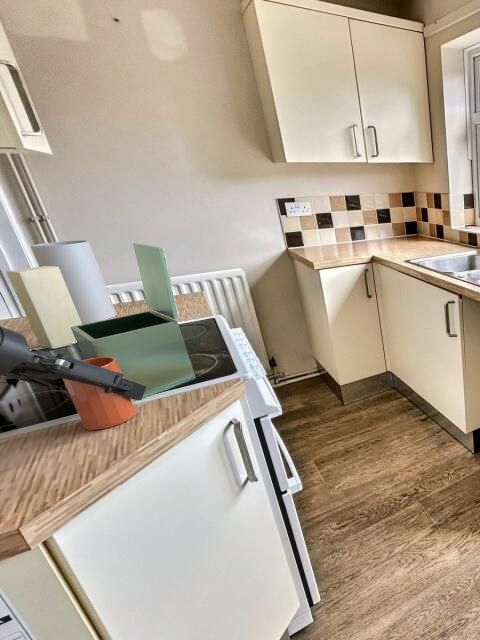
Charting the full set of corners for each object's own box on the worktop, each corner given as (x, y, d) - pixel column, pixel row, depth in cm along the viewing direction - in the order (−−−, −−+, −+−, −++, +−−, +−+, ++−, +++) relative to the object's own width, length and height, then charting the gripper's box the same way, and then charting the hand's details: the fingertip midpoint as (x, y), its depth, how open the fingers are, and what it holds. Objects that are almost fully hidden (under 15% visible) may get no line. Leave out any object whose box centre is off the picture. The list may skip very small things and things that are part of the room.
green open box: (118, 406, 83) (90, 341, 78) (96, 386, 91) (70, 326, 86) (196, 380, 93) (177, 321, 88) (170, 364, 102) (151, 310, 97)
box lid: (158, 248, 83) (163, 248, 84) (132, 243, 92) (137, 243, 92) (174, 319, 88) (179, 318, 88) (148, 308, 96) (152, 307, 97)
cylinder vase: (84, 328, 129) (50, 246, 120) (55, 326, 132) (19, 246, 123) (127, 316, 141) (98, 240, 132) (99, 314, 143) (69, 240, 134)
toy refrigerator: (75, 336, 123) (44, 265, 115) (89, 339, 120) (58, 266, 113) (38, 346, 116) (3, 271, 108) (53, 349, 113) (17, 272, 106)
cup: (79, 421, 77) (54, 367, 73) (130, 404, 83) (109, 353, 79) (90, 434, 73) (64, 377, 69) (142, 415, 79) (121, 362, 75)
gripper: (-109, 369, 58) (64, 410, 79) (22, 372, 57) (164, 413, 77) (-76, 321, 61) (82, 373, 82) (49, 322, 60) (178, 375, 80)
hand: (122, 392), depth 80 cm, fingers closed on cup, 7 cm apart
